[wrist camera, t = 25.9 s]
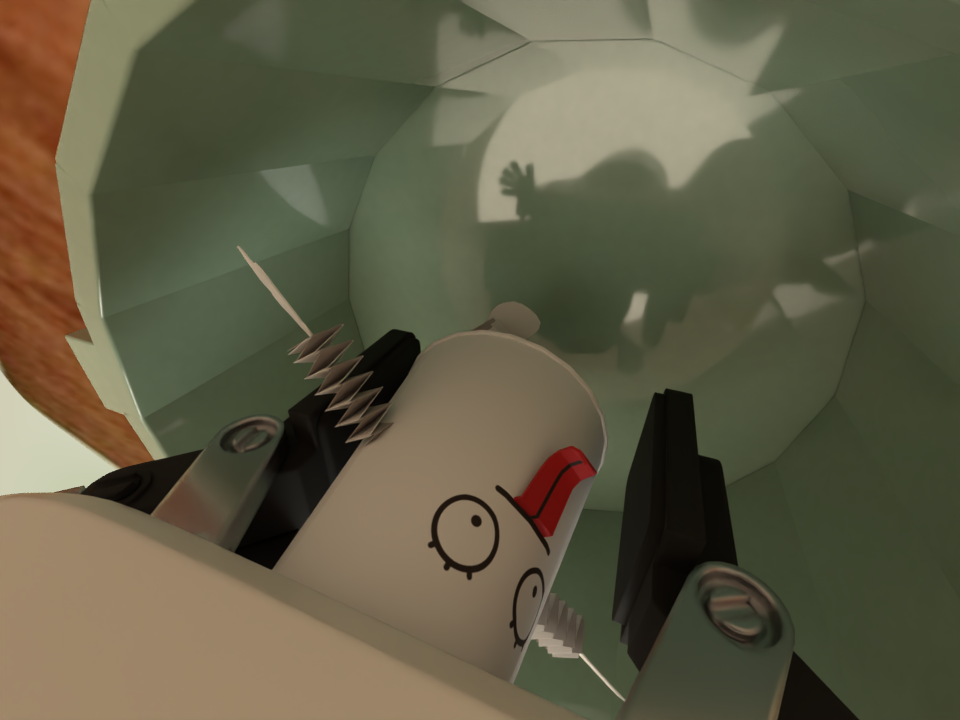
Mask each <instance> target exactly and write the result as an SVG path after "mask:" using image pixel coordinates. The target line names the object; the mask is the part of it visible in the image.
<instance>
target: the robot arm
mask: <svg viewBox="0 0 960 720" xmlns="http://www.w3.org/2000/svg"><path fill="white" fill-rule="evenodd" d="M420 353H421V346H420V341H419V340H418V339H416V337H415V335H414V334H413V333H412V332H407V331H403V330H398V329H392V330H390V331H389V332H388V333H386V334H385V335H384V336H382V337H381V338H380V339H379V340H377V341H376V342H375V343H373V344H372V345H371V346H370V347H368V348H367V349H366V350H364V351H363V352H362V353H361V354H359V355H358V356H357V357H359V356H362V355H363V357H362V359H361V360H360V361H359V363H358V364H357V365H356V367H355V368H354V369H353V370H352V372H351V373H350V374H349V376H348V377H347V378H350V377H354V376H357V375H361V374H364V373H368V372H371V371H373V373H372V374H371V375H370V376H369V378H368V379H367V380H366V381H365V383H364V384H363V385H362V386H361V388H360V389H359V390H358V391H357V393H359V392H363V391H367V390H371V389H375V388H379V387H383V388H382V389H381V391H380V392H379V393H378V395H377V396H376V397H375V399H374V400H373V401H372V403H371V404H370V405H369V407H372V406H377V405H382V404H386V403H389V401H390V400H391V399H392V397H393V396H394V394H395V393H396V391H397V390H398V389H399V387H400V386H401V384H402V383H403V381H404V380H405V379H406V377H407V376H408V374H409V371H410V370H411V368H412V366H413V364H414V362H415V360H416V358H417V356H418V355H419V354H420ZM321 385H322V384H321ZM321 385H320V386H318V387H317V388H316V389H315V390H313V391H312V392H311V393H310V394H308V395H307V396H306V397H304V398H303V399H302V400H301V401H299V402H298V403H297V404H295V405H294V406H293V407H292V408H290V409H289V410H288V413H289V417H288V418H287V419H286V420H285V421H282V420H281V419H280V418H278V417H276V416H274V415H268V414H257V415H250V416H246V417H242V418H240V419H238V420H235V421H233V422H231V423H229V424H228V425H226V426H225V427H223V428H222V429H221V430H220V431H219V432H218V433H217V434H216V435H215V436H214V437H213V439H212V440H211V441H210V442H209V443H208V445H207V446H206V447H205V448H204V449H202V450H197V451H193V452H189V453H184V454H180V455H176V456H171V457H167V458H163V459H158V460H154V461H150V462H145V463H141V464H137V465H132V466H128V467H125V468H122V469H118V470H115V471H113V472H111V473H108V474H106V475H105V476H103V477H101V478H100V479H98V480H96V481H95V482H93V483H92V484H91V485H89V486H88V487H87V488H85V487H84V486H80V487H75V488H71V489H67V490H62V491H58V492H54V493H19V494H10V495H3V496H0V720H587V719H585V718H583V717H581V716H579V715H577V714H575V713H573V712H571V711H569V710H567V709H565V708H563V707H560V706H558V705H556V704H554V703H552V702H550V701H548V700H546V699H544V698H542V697H539V696H537V695H535V694H533V693H531V692H529V691H527V690H525V689H523V688H520V687H518V686H516V685H514V684H512V683H510V682H508V681H506V680H504V679H502V678H499V677H497V676H495V675H493V674H491V673H489V672H487V671H485V670H483V669H480V668H478V667H476V666H474V665H472V664H470V663H468V662H466V661H464V660H462V659H459V658H457V657H455V656H453V655H451V654H449V653H447V652H445V651H443V650H441V649H438V648H436V647H434V646H432V645H430V644H428V643H426V642H424V641H422V640H419V639H417V638H415V637H413V636H411V635H409V634H407V633H405V632H402V631H400V630H398V629H396V628H394V627H392V626H390V625H388V624H385V623H383V622H381V621H379V620H377V619H375V618H373V617H370V616H368V615H366V614H364V613H362V612H360V611H358V610H356V609H353V608H351V607H349V606H347V605H345V604H343V603H341V602H339V601H336V600H334V599H332V598H330V597H328V596H326V595H324V594H321V593H319V592H317V591H315V590H313V589H311V588H309V587H306V586H304V585H302V584H300V583H298V582H296V581H294V580H292V579H289V578H287V577H285V576H283V575H281V574H279V573H276V572H274V571H272V569H273V568H274V566H275V565H276V563H277V562H278V561H279V559H280V558H281V556H282V555H283V553H284V552H285V551H286V549H287V548H288V546H289V545H290V543H291V542H292V541H293V539H294V538H295V536H296V535H297V533H298V532H299V530H300V529H301V528H302V526H303V525H304V523H305V522H306V520H307V519H308V518H309V516H310V515H311V513H312V512H313V510H314V509H315V508H316V506H317V505H318V503H319V502H320V500H321V499H322V498H323V496H324V495H325V493H326V492H327V490H328V489H329V487H330V486H331V485H332V483H333V482H334V480H335V479H336V477H337V476H338V475H339V473H340V472H341V470H342V469H343V467H344V466H345V465H346V463H347V462H348V460H349V459H350V457H351V456H352V455H353V453H354V452H355V450H356V449H357V447H358V446H359V444H360V443H361V442H362V440H363V439H360V440H356V441H352V442H347V443H345V442H346V441H347V439H348V438H349V437H350V436H351V434H352V433H353V432H354V430H355V429H356V428H357V427H358V425H359V424H360V423H361V422H360V423H355V424H350V425H344V426H339V427H335V426H336V425H337V424H338V422H339V421H340V420H341V418H342V417H343V415H344V414H345V413H346V411H347V410H348V408H344V409H337V410H331V411H325V410H326V409H327V408H328V406H329V405H330V403H331V402H332V400H333V399H334V397H335V396H336V394H337V393H331V394H323V395H315V394H316V393H317V392H318V390H319V388H320V387H321ZM612 621H614V622H617V623H620V624H621V635H620V642H621V643H623V644H626V645H628V648H627V654H628V655H629V657H630V658H631V660H632V661H633V663H634V664H635V666H636V668H637V669H638V671H639V673H638V675H637V677H636V679H635V681H634V683H633V685H632V687H631V689H630V691H629V693H628V695H627V697H626V699H625V701H624V703H623V705H622V707H621V709H620V711H619V713H618V715H617V717H616V719H615V720H859V719H858V718H857V717H856V716H855V715H854V714H853V712H852V711H851V710H850V709H849V708H848V707H847V706H846V705H845V704H844V703H843V702H842V701H841V700H840V699H839V698H838V697H837V696H836V695H835V694H834V693H833V692H832V690H831V689H830V688H829V687H828V686H827V685H826V684H825V683H824V682H823V681H822V680H821V679H820V678H819V677H818V676H817V675H816V674H815V673H814V672H813V671H812V670H811V668H810V667H809V666H808V665H807V664H806V663H805V662H804V661H803V660H802V659H801V658H800V657H799V656H798V655H797V654H796V653H795V652H794V651H793V649H794V645H795V627H794V625H793V622H792V619H791V616H790V613H789V611H788V610H787V608H786V607H785V605H784V604H783V602H782V601H781V599H780V598H779V597H778V595H777V594H776V593H775V592H774V591H773V590H772V589H771V588H770V587H769V586H768V585H767V584H766V583H765V582H763V581H762V580H760V579H759V578H758V577H756V576H755V575H754V574H752V573H751V572H749V571H747V570H745V569H742V568H740V567H738V561H737V555H736V549H735V542H734V536H733V530H732V524H731V517H730V511H729V505H728V498H727V492H726V486H725V479H724V473H723V467H722V464H721V462H720V461H719V460H718V459H714V458H710V457H706V456H702V455H699V454H698V445H697V435H696V424H695V413H694V403H693V395H692V394H691V393H686V392H681V391H677V390H672V389H668V388H666V389H665V390H664V393H663V394H662V393H657V392H655V393H654V395H653V398H652V401H651V404H650V407H649V410H648V414H647V417H646V420H645V423H644V427H643V430H642V433H641V436H640V439H639V443H638V446H637V449H636V452H635V455H634V459H633V462H632V465H631V468H630V472H629V475H628V479H627V484H626V491H625V500H624V510H623V519H622V528H621V537H620V546H619V555H618V564H617V574H616V583H615V592H614V601H613V610H612Z"/></svg>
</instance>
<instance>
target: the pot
mask: <svg viewBox="0 0 960 720" xmlns="http://www.w3.org/2000/svg"><path fill="white" fill-rule="evenodd" d="M55 159H56V162H57V163H56V164H55V168H56V175H57V182H58V188H59V195H60V202H61V208H62V215H63V222H64V228H65V235H66V242H67V249H68V255H69V262H70V269H71V275H72V282H73V289H74V296H75V300H76V302H77V306H78V308H79V311H80V313H81V315H82V318H83V320H84V322H85V325H86V327H87V328H84V329H81V330H78V331H76V332H73V333H70V334H68V335H66V336H65V338H66V340H67V342H68V343H69V345H70V347H71V349H72V350H73V352H74V354H75V356H76V357H77V359H78V361H79V362H80V364H81V366H82V368H83V369H84V371H85V373H86V375H87V376H88V378H89V380H90V382H91V383H92V385H93V387H94V389H95V390H96V392H97V394H98V395H99V397H100V399H101V401H102V402H103V404H104V406H105V407H106V408H108V409H110V410H113V411H116V412H118V413H121V414H124V415H125V417H126V418H127V420H128V421H129V423H130V424H131V426H132V427H133V429H134V430H135V432H136V433H137V435H138V436H139V438H140V439H141V441H142V442H143V444H144V445H145V447H146V448H147V450H148V451H149V453H150V454H151V456H152V457H153V459H154V460H158V459H163V458H167V457H171V456H176V455H180V454H184V453H189V452H193V451H197V450H202V449H204V448H205V447H206V446H207V445H208V443H209V442H210V441H211V440H212V439H213V437H214V436H215V435H216V434H217V433H218V432H219V431H220V430H221V429H222V428H223V427H225V426H226V425H228V424H229V423H231V422H233V421H235V420H238V419H240V418H242V417H246V416H250V415H257V414H268V415H274V416H276V417H278V418H280V419H281V420H282V421H285V420H286V419H287V418H288V417H289V413H288V410H289V409H290V408H292V407H293V406H294V405H295V404H297V403H298V402H299V401H301V400H302V399H303V398H304V397H306V396H307V395H308V394H310V393H311V392H312V391H313V390H315V389H316V388H317V387H318V386H320V385H321V384H322V383H323V382H324V380H325V378H315V379H304V378H306V377H307V375H308V373H309V371H310V370H311V368H312V366H313V364H314V362H308V363H294V362H295V361H296V360H297V359H298V357H299V356H300V354H301V353H302V352H300V353H295V354H291V355H288V354H289V353H290V352H291V351H293V350H294V349H295V348H294V349H292V350H289V349H291V348H292V347H294V346H296V345H297V344H299V343H301V342H302V341H304V340H305V339H307V338H309V335H308V334H307V333H306V332H305V331H304V330H303V329H302V328H301V327H300V326H299V324H298V323H297V322H296V321H295V320H294V319H293V318H292V317H291V316H290V315H289V313H288V312H287V311H286V310H285V309H284V308H283V307H282V306H281V305H280V304H279V303H278V301H277V300H276V299H275V298H274V296H273V295H272V293H271V291H270V290H269V289H268V288H267V287H266V286H265V285H264V284H263V283H262V281H261V280H260V279H259V278H258V276H257V275H256V274H255V272H254V271H253V269H252V268H251V267H250V265H249V264H248V263H247V261H246V260H245V259H244V257H243V255H242V253H241V252H240V251H239V249H238V248H237V246H240V247H241V248H242V249H243V251H244V252H245V253H246V254H247V255H248V257H249V258H250V259H251V260H252V262H253V263H255V262H256V263H257V264H258V265H259V266H260V267H261V268H262V270H263V271H264V272H265V273H266V275H267V276H268V277H269V279H270V280H271V281H272V283H273V284H274V285H275V286H276V288H277V289H278V290H279V292H280V293H281V294H282V296H283V297H284V298H285V299H286V301H287V302H288V303H289V305H290V306H291V307H292V308H293V310H294V311H295V312H296V313H297V315H298V316H299V317H300V319H301V320H302V321H303V323H304V324H305V325H306V326H307V327H308V328H309V330H310V331H311V332H312V334H313V335H314V334H317V333H320V332H322V331H325V330H327V329H330V328H332V327H335V326H337V325H340V324H344V325H343V327H342V328H341V330H340V331H339V333H338V334H337V336H336V337H335V339H334V340H333V342H332V343H331V345H330V346H333V345H337V344H340V343H343V342H346V341H349V340H354V341H353V342H352V343H351V345H350V346H349V348H348V349H347V350H346V352H345V353H344V355H343V356H342V357H341V359H340V360H339V361H338V362H337V363H340V362H343V361H347V360H350V359H353V358H356V357H357V356H358V355H359V354H361V353H362V352H363V351H364V350H366V349H367V348H368V347H370V346H371V345H372V344H373V343H375V342H376V341H377V340H379V339H380V338H381V337H382V336H384V335H385V334H386V333H388V332H389V331H390V330H392V329H398V330H403V331H407V332H412V333H413V334H414V335H415V337H416V339H418V340H419V341H420V346H421V352H422V351H424V350H425V349H426V348H427V347H428V346H429V345H430V344H432V343H433V342H434V341H436V340H439V339H441V338H443V337H446V336H448V335H451V334H453V333H456V332H465V331H472V330H473V329H475V328H477V327H478V326H480V325H482V324H483V323H485V322H487V320H488V317H489V315H490V313H491V311H492V310H493V309H494V308H495V307H496V306H497V305H499V304H502V303H504V302H512V301H515V302H518V303H521V304H523V305H524V306H526V307H528V308H529V309H530V310H531V311H533V312H534V313H535V314H536V315H537V317H538V319H539V321H540V322H541V323H540V326H539V329H538V330H537V331H536V332H535V334H534V335H532V336H531V337H529V338H528V339H526V340H528V341H530V342H532V343H535V344H537V345H540V346H542V347H544V348H546V349H547V350H549V351H550V352H551V353H553V354H554V355H556V356H557V357H558V358H560V359H561V360H563V361H564V362H566V363H567V364H568V365H570V366H571V367H572V368H573V369H574V370H575V372H576V373H577V374H578V375H579V376H580V377H581V378H582V379H583V381H584V382H585V383H586V384H587V385H588V386H589V387H590V388H591V390H592V391H593V393H594V395H595V397H596V399H597V401H598V403H599V405H600V407H601V409H602V411H603V413H604V415H605V421H606V427H607V433H608V439H609V441H608V447H607V452H606V457H605V462H604V464H603V465H602V467H601V469H600V470H599V472H598V473H597V475H596V476H595V479H594V481H593V484H592V486H591V489H590V491H589V494H588V496H587V499H586V501H585V504H584V506H583V509H582V511H581V514H580V517H579V519H578V522H577V524H576V527H575V529H574V532H573V534H572V537H571V539H570V542H569V544H568V547H567V549H566V552H565V554H564V557H563V559H562V562H561V565H560V567H559V570H558V572H557V575H556V577H555V580H554V582H553V585H552V587H551V590H550V593H557V596H556V597H559V600H561V601H565V605H568V608H574V612H577V615H582V619H585V626H584V639H583V652H582V653H583V654H584V655H585V656H586V657H587V659H588V660H589V661H590V662H591V663H592V664H593V665H594V666H595V667H596V668H597V670H598V671H599V672H600V673H601V674H602V675H603V676H604V677H605V678H606V680H607V681H608V682H609V683H610V684H611V685H612V686H613V687H614V688H615V689H616V690H617V692H618V693H619V694H620V695H621V696H622V697H623V698H624V699H626V697H627V695H628V693H629V691H630V689H631V687H632V685H633V683H634V681H635V679H636V677H637V675H638V673H639V671H638V669H637V668H636V666H635V664H634V663H633V661H632V660H631V658H630V657H629V655H628V654H627V648H628V645H626V644H623V643H621V642H620V635H621V624H620V623H617V622H614V621H612V610H613V601H614V592H615V583H616V574H617V564H618V555H619V546H620V537H621V528H622V519H623V510H624V500H625V491H626V484H627V479H628V475H629V472H630V468H631V465H632V462H633V459H634V455H635V452H636V449H637V446H638V443H639V439H640V436H641V433H642V430H643V427H644V423H645V420H646V417H647V414H648V410H649V407H650V404H651V401H652V398H653V395H654V393H655V392H657V393H662V394H663V393H664V390H665V389H666V388H668V389H672V390H677V391H681V392H686V393H691V394H692V395H693V403H694V413H695V424H696V435H697V445H698V454H699V455H702V456H706V457H710V458H714V459H718V460H719V461H720V462H721V464H722V467H723V473H724V479H725V486H726V492H727V498H728V505H729V511H730V517H731V524H732V530H733V536H734V542H735V549H736V555H737V561H738V567H740V568H742V569H745V570H747V571H749V572H751V573H752V574H754V575H755V576H756V577H758V578H759V579H760V580H762V581H763V582H765V583H766V584H767V585H768V586H769V587H770V588H771V589H772V590H773V591H774V592H775V593H776V594H777V595H778V597H779V598H780V599H781V601H782V602H783V604H784V605H785V607H786V608H787V610H788V611H789V613H790V616H791V619H792V622H793V625H794V627H795V645H794V649H793V651H794V652H795V653H796V654H797V655H798V656H799V657H800V658H801V659H802V660H803V661H804V662H805V663H806V664H807V665H808V666H809V667H810V668H811V670H812V671H813V672H814V673H815V674H816V675H817V676H818V677H819V678H820V679H821V680H822V681H823V682H824V683H825V684H826V685H827V686H828V687H829V688H830V689H831V690H832V692H833V693H834V694H835V695H836V696H837V697H838V698H839V699H840V700H841V701H842V702H843V703H844V704H845V705H846V706H847V707H848V708H849V709H850V710H851V711H852V712H853V714H854V715H855V716H856V717H857V718H858V719H859V720H960V0H90V3H89V8H88V12H87V17H86V21H85V26H84V30H83V35H82V39H81V44H80V49H79V53H78V58H77V62H76V67H75V71H74V76H73V80H72V85H71V89H70V94H69V98H68V103H67V108H66V112H65V117H64V121H63V126H62V130H61V135H60V139H59V144H58V148H57V153H56V157H55ZM330 346H329V347H330ZM287 350H289V351H287ZM337 363H335V364H337ZM536 640H537V639H531V640H530V643H529V645H528V648H527V650H526V653H525V655H524V658H523V660H522V663H521V666H520V668H519V671H518V673H517V676H516V678H515V681H514V683H513V684H514V685H516V686H518V687H520V688H523V689H525V690H527V691H529V692H531V693H533V694H535V695H537V696H539V697H542V698H544V699H546V700H548V701H550V702H552V703H554V704H556V705H558V706H560V707H563V708H565V709H567V710H569V711H571V712H573V713H575V714H577V715H579V716H581V717H583V718H585V719H587V720H615V719H616V717H617V715H618V713H619V711H620V709H621V707H622V705H623V703H624V701H623V700H622V699H621V698H620V697H618V696H617V695H616V694H615V693H614V692H613V691H612V690H611V689H610V688H609V687H608V686H607V685H606V684H605V682H604V681H603V680H602V679H601V678H600V677H599V676H598V675H597V674H596V673H595V672H594V671H593V670H592V668H591V667H590V666H589V665H588V664H587V663H586V662H585V661H584V660H583V659H582V658H581V657H580V656H579V658H564V657H552V653H548V649H545V646H542V647H539V642H536Z"/></svg>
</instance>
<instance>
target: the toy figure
mask: <svg viewBox="0 0 960 720" xmlns="http://www.w3.org/2000/svg"><path fill="white" fill-rule="evenodd" d="M237 248H238V249H239V251H240V252H241V253H242V255H243V257H244V259H245V260H246V261H247V263H248V264H249V265H250V267H251V268H252V269H253V271H254V272H255V274H256V275H257V276H258V278H259V279H260V280H261V281H262V283H263V284H264V285H265V286H266V287H267V288H268V289H269V290H270V291H271V293H272V295H273V296H274V298H275V299H276V300H277V301H278V303H279V304H280V305H281V306H282V307H283V308H284V309H285V310H286V311H287V312H288V313H289V315H290V316H291V317H292V318H293V319H294V320H295V321H296V322H297V323H298V324H299V326H300V327H301V328H302V329H303V330H304V331H305V332H306V333H307V334H308V335H309V338H307V339H305V340H304V341H302V342H301V343H299V344H297V345H296V346H294V347H292V348H291V349H289V350H292V349H294V348H295V349H294V350H293V351H291V352H290V353H289V354H288V355H291V354H295V353H300V352H302V353H301V354H300V356H299V357H298V359H297V360H296V361H295V362H294V363H308V362H314V364H313V366H312V368H311V370H310V371H309V373H308V375H307V377H306V378H304V379H315V378H325V380H324V382H323V383H322V385H321V387H320V388H319V390H318V392H317V393H316V394H315V395H323V394H331V393H337V394H336V396H335V397H334V399H333V400H332V402H331V403H330V405H329V406H328V408H327V409H326V410H325V411H331V410H337V409H344V408H348V410H347V411H346V413H345V414H344V415H343V417H342V418H341V420H340V421H339V422H338V424H337V425H336V426H335V427H339V426H344V425H350V424H355V423H360V422H361V423H360V424H359V425H358V427H357V428H356V429H355V430H354V432H353V433H352V434H351V436H350V437H349V438H348V439H347V441H346V442H345V443H347V442H352V441H356V440H360V439H363V440H362V442H361V443H360V444H359V446H358V447H357V449H356V450H355V452H354V453H353V455H352V456H351V457H350V459H349V460H348V462H347V463H346V465H345V466H344V467H343V469H342V470H341V472H340V473H339V475H338V476H337V477H336V479H335V480H334V482H333V483H332V485H331V486H330V487H329V489H328V490H327V492H326V493H325V495H324V496H323V498H322V499H321V500H320V502H319V503H318V505H317V506H316V508H315V509H314V510H313V512H312V513H311V515H310V516H309V518H308V519H307V520H306V522H305V523H304V525H303V526H302V528H301V529H300V530H299V532H298V533H297V535H296V536H295V538H294V539H293V541H292V542H291V543H290V545H289V546H288V548H287V549H286V551H285V552H284V553H283V555H282V556H281V558H280V559H279V561H278V562H277V563H276V565H275V566H274V568H273V569H272V571H274V572H276V573H279V574H281V575H283V576H285V577H287V578H289V579H292V580H294V581H296V582H298V583H300V584H302V585H304V586H306V587H309V588H311V589H313V590H315V591H317V592H319V593H321V594H324V595H326V596H328V597H330V598H332V599H334V600H336V601H339V602H341V603H343V604H345V605H347V606H349V607H351V608H353V609H356V610H358V611H360V612H362V613H364V614H366V615H368V616H370V617H373V618H375V619H377V620H379V621H381V622H383V623H385V624H388V625H390V626H392V627H394V628H396V629H398V630H400V631H402V632H405V633H407V634H409V635H411V636H413V637H415V638H417V639H419V640H422V641H424V642H426V643H428V644H430V645H432V646H434V647H436V648H438V649H441V650H443V651H445V652H447V653H449V654H451V655H453V656H455V657H457V658H459V659H462V660H464V661H466V662H468V663H470V664H472V665H474V666H476V667H478V668H480V669H483V670H485V671H487V672H489V673H491V674H493V675H495V676H497V677H499V678H502V679H504V680H506V681H508V682H510V683H512V684H513V683H514V681H515V678H516V676H517V673H518V671H519V668H520V666H521V663H522V660H523V658H524V655H525V653H526V650H527V648H528V645H529V643H530V640H531V639H537V640H536V642H539V647H542V646H545V649H548V653H552V657H564V658H579V656H580V657H581V658H582V659H583V660H584V661H585V662H586V663H587V664H588V665H589V666H590V667H591V668H592V670H593V671H594V672H595V673H596V674H597V675H598V676H599V677H600V678H601V679H602V680H603V681H604V682H605V684H606V685H607V686H608V687H609V688H610V689H611V690H612V691H613V692H614V693H615V694H616V695H617V696H618V697H620V698H621V699H622V700H623V701H625V699H624V698H623V697H622V696H621V695H620V694H619V693H618V692H617V690H616V689H615V688H614V687H613V686H612V685H611V684H610V683H609V682H608V681H607V680H606V678H605V677H604V676H603V675H602V674H601V673H600V672H599V671H598V670H597V668H596V667H595V666H594V665H593V664H592V663H591V662H590V661H589V660H588V659H587V657H586V656H585V655H584V654H583V653H582V652H583V639H584V626H585V619H582V615H577V612H574V608H568V605H565V601H561V600H559V597H556V596H557V593H550V590H551V587H552V585H553V582H554V580H555V577H556V575H557V572H558V570H559V567H560V565H561V562H562V559H563V557H564V554H565V552H566V549H567V547H568V544H569V542H570V539H571V537H572V534H573V532H574V529H575V527H576V524H577V522H578V519H579V517H580V514H581V511H582V509H583V506H584V504H585V501H586V499H587V496H588V494H589V491H590V489H591V486H592V484H593V481H594V479H595V476H596V475H597V473H598V472H599V470H600V469H601V467H602V465H603V464H604V462H605V457H606V452H607V447H608V441H609V439H608V433H607V427H606V421H605V415H604V413H603V411H602V409H601V407H600V405H599V403H598V401H597V399H596V397H595V395H594V393H593V391H592V390H591V388H590V387H589V386H588V385H587V384H586V383H585V382H584V381H583V379H582V378H581V377H580V376H579V375H578V374H577V373H576V372H575V370H574V369H573V368H572V367H571V366H570V365H568V364H567V363H566V362H564V361H563V360H561V359H560V358H558V357H557V356H556V355H554V354H553V353H551V352H550V351H549V350H547V349H546V348H544V347H542V346H540V345H537V344H535V343H532V342H530V341H528V340H526V339H528V338H529V337H531V336H532V335H534V334H535V332H536V331H537V330H538V329H539V326H540V323H541V322H540V321H539V319H538V317H537V315H536V314H535V313H534V312H533V311H531V310H530V309H529V308H528V307H526V306H524V305H523V304H521V303H518V302H515V301H512V302H504V303H502V304H499V305H497V306H496V307H495V308H494V309H493V310H492V311H491V313H490V315H489V317H488V320H487V322H485V323H483V324H482V325H480V326H478V327H477V328H475V329H473V330H472V331H465V332H456V333H453V334H451V335H448V336H446V337H443V338H441V339H439V340H436V341H434V342H433V343H432V344H430V345H429V346H428V347H427V348H426V349H425V350H424V351H422V352H421V353H420V354H419V355H418V356H417V358H416V360H415V362H414V364H413V366H412V368H411V370H410V371H409V374H408V376H407V377H406V379H405V380H404V381H403V383H402V384H401V386H400V387H399V389H398V390H397V391H396V393H395V394H394V396H393V397H392V399H391V400H390V401H389V403H386V404H382V405H377V406H372V407H369V405H370V404H371V403H372V401H373V400H374V399H375V397H376V396H377V395H378V393H379V392H380V391H381V389H382V388H383V387H379V388H375V389H371V390H367V391H363V392H359V393H357V391H358V390H359V389H360V388H361V386H362V385H363V384H364V383H365V381H366V380H367V379H368V378H369V376H370V375H371V374H372V373H373V371H371V372H368V373H364V374H361V375H357V376H354V377H350V378H347V377H348V376H349V374H350V373H351V372H352V370H353V369H354V368H355V367H356V365H357V364H358V363H359V361H360V360H361V359H362V357H363V355H362V356H359V357H356V358H353V359H350V360H347V361H343V362H340V363H337V362H338V361H339V360H340V359H341V357H342V356H343V355H344V353H345V352H346V350H347V349H348V348H349V346H350V345H351V343H352V342H353V341H354V340H349V341H346V342H343V343H340V344H337V345H333V346H330V345H331V343H332V342H333V340H334V339H335V337H336V336H337V334H338V333H339V331H340V330H341V328H342V327H343V325H344V324H340V325H337V326H335V327H332V328H330V329H327V330H325V331H322V332H320V333H317V334H314V335H313V334H312V332H311V331H310V330H309V328H308V327H307V326H306V325H305V324H304V323H303V321H302V320H301V319H300V317H299V316H298V315H297V313H296V312H295V311H294V310H293V308H292V307H291V306H290V305H289V303H288V302H287V301H286V299H285V298H284V297H283V296H282V294H281V293H280V292H279V290H278V289H277V288H276V286H275V285H274V284H273V283H272V281H271V280H270V279H269V277H268V276H267V275H266V273H265V272H264V271H263V270H262V268H261V267H260V266H259V265H258V264H257V263H256V262H255V263H253V262H252V260H251V259H250V258H249V257H248V255H247V254H246V253H245V252H244V251H243V249H242V248H241V247H240V246H237ZM329 346H330V347H329ZM289 350H287V351H289ZM335 363H337V364H335Z"/></svg>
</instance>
